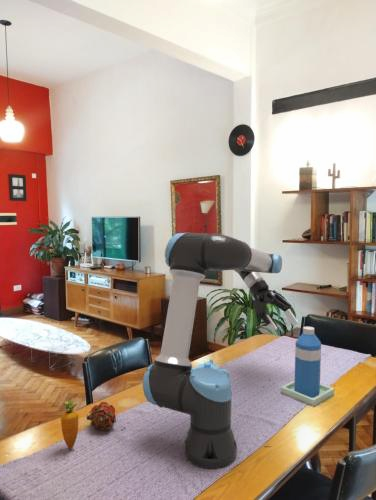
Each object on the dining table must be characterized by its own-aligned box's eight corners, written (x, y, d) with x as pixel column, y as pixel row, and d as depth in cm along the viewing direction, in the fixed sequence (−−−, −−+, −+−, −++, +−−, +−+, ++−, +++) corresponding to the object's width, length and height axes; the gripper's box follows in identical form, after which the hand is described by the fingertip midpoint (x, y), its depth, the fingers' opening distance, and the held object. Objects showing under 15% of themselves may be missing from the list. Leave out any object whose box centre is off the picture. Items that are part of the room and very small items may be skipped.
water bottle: (316, 387, 154) (318, 324, 151) (322, 398, 144) (324, 332, 142) (292, 386, 155) (293, 324, 152) (296, 397, 145) (298, 331, 143)
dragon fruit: (107, 442, 122) (95, 429, 132) (126, 419, 125) (114, 409, 136) (89, 424, 119) (79, 412, 130) (110, 401, 123) (98, 392, 133)
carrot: (72, 441, 119) (71, 394, 118) (82, 448, 116) (81, 399, 114) (58, 449, 115) (56, 400, 114) (68, 456, 112) (66, 405, 111)
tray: (313, 407, 140) (313, 400, 140) (280, 393, 150) (281, 387, 150) (334, 395, 149) (334, 388, 149) (301, 382, 160) (302, 377, 159)
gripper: (269, 286, 176) (298, 326, 166) (231, 293, 159) (259, 338, 150) (280, 275, 171) (309, 316, 161) (241, 282, 155) (271, 328, 145)
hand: (285, 327), depth 155 cm, fingers open, 13 cm apart
